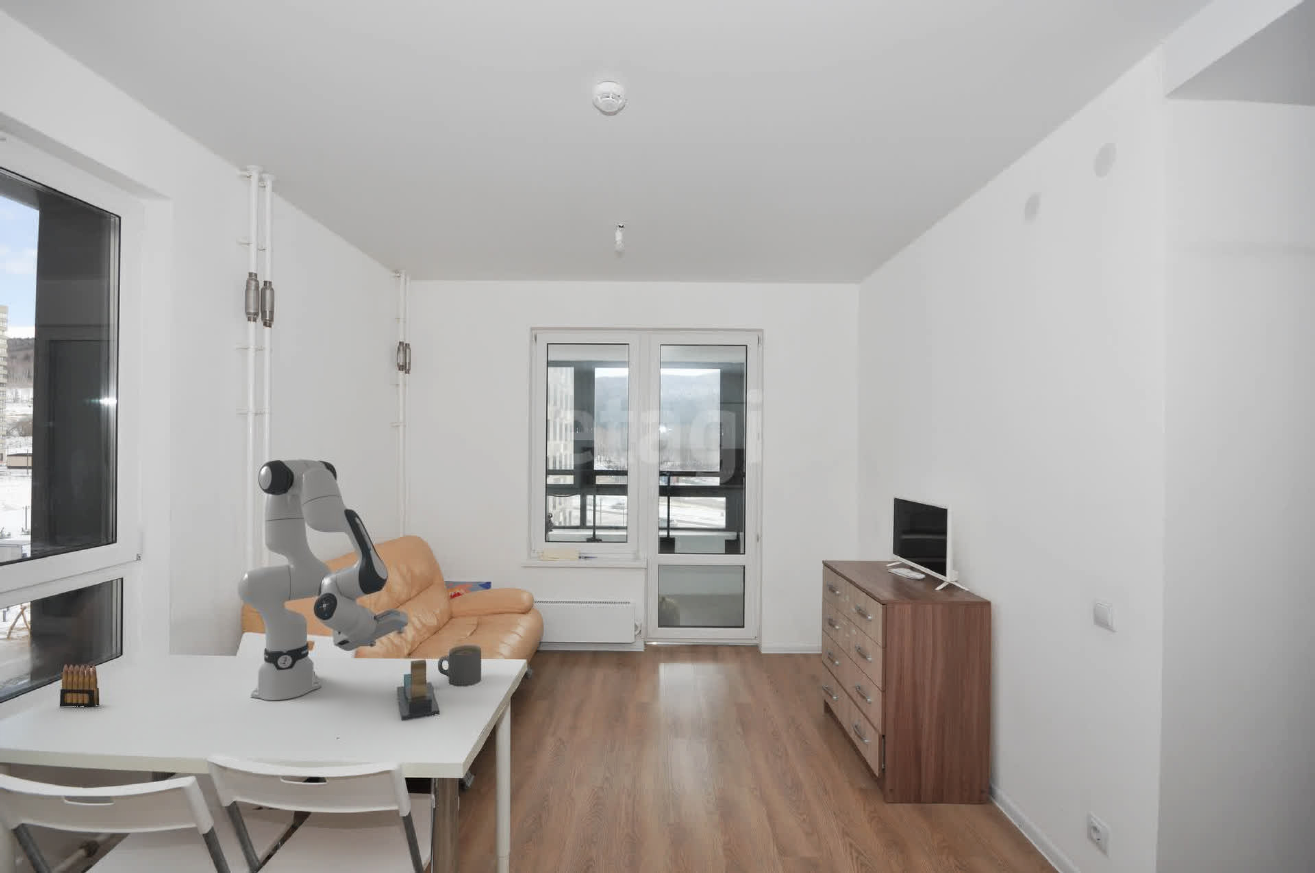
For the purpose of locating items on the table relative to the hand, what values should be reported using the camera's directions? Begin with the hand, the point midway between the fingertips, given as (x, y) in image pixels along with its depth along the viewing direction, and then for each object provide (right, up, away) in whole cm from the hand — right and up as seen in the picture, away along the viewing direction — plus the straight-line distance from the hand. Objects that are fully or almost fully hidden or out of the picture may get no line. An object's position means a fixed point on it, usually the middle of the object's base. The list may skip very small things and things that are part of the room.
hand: (388, 637), depth 201 cm
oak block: (+13, -16, -10) cm, 23 cm away
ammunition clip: (-87, -18, -8) cm, 89 cm away
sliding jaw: (+8, -16, 0) cm, 18 cm away
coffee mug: (+18, -18, +12) cm, 28 cm away
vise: (+11, -17, -6) cm, 21 cm away
